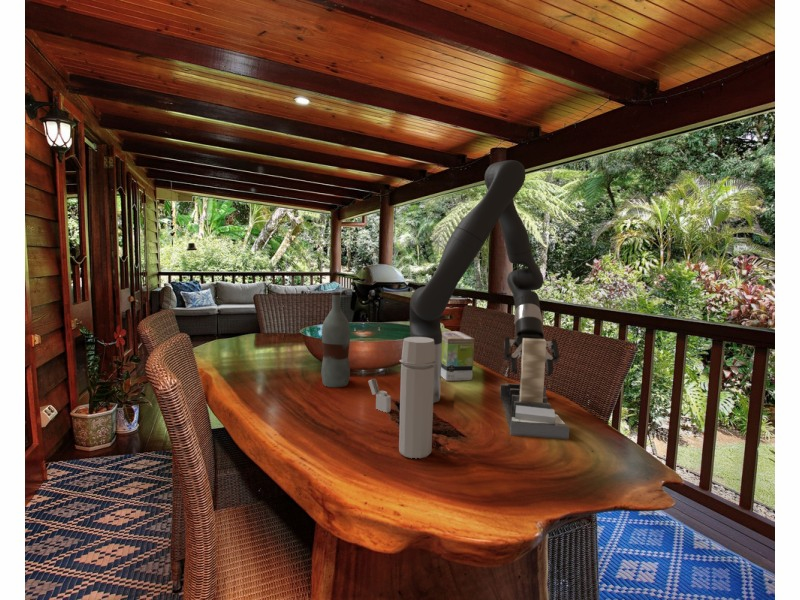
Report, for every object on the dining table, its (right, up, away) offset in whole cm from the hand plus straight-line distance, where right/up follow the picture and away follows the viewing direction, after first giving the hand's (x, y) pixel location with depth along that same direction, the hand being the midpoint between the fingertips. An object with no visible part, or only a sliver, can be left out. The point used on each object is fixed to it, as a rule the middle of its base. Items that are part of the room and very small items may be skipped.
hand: (532, 373), depth 119 cm
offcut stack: (-2, -12, -9) cm, 15 cm away
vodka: (-56, -8, +29) cm, 63 cm away
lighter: (-40, -11, +7) cm, 42 cm away
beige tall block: (0, -11, +1) cm, 11 cm away
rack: (0, -12, +1) cm, 12 cm away
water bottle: (-31, -14, -19) cm, 39 cm away
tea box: (-16, -8, +43) cm, 46 cm away
